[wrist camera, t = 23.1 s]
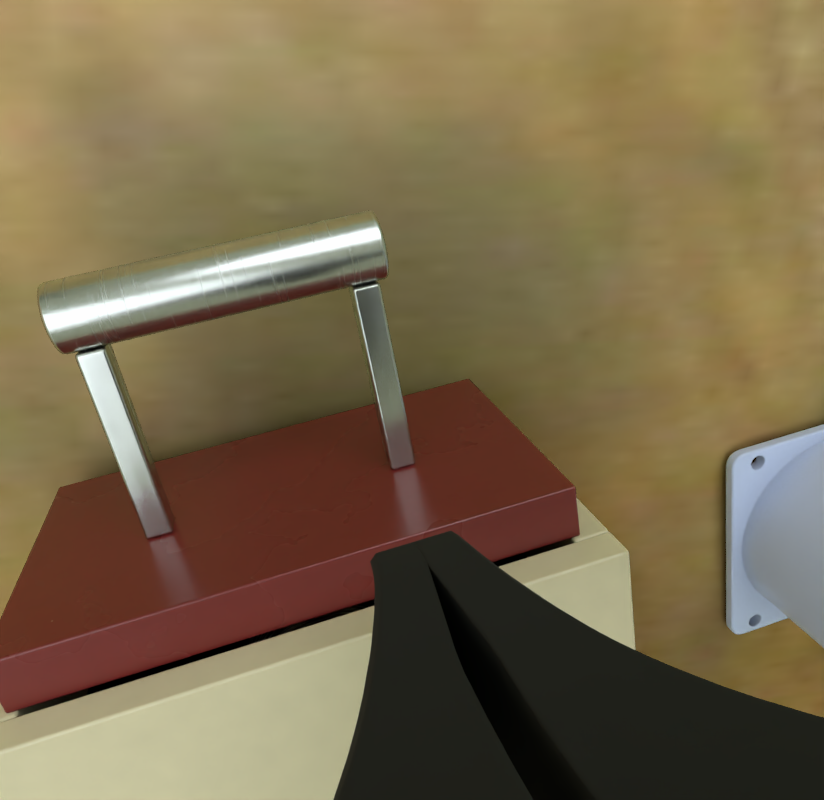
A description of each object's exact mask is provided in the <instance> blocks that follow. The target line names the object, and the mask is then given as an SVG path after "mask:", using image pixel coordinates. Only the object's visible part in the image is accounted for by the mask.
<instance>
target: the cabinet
mask: <svg viewBox="0 0 824 800" xmlns="http://www.w3.org/2000/svg"><path fill="white" fill-rule="evenodd" d="M576 499H577V498H576ZM577 509H578V519H579V529H580V535H579V536H576V537H573V538H569V539H566V540H563V541H560V542H557V543H553V544H550V545H547V546H544V547H541V548H537V549H534V550H531V551H528V552H524V554H525V555H526V556H527V558H524V559H521V560H518V561H515V562H511V563H508V564H505V565H502V566H499V568H501V569H502V570H503V571H505V572H506V573H507V574H509V575H510V576H512V577H513V578H514V579H516V580H517V581H519V582H520V583H522V584H523V585H524V586H526V587H527V588H529V589H530V590H532V591H533V592H535V593H536V594H538V595H539V596H541V597H542V598H544V599H545V600H547V601H548V602H550V603H551V604H553V605H554V606H556V607H558V608H559V609H561V610H562V611H564V612H566V613H567V614H569V615H571V616H572V617H574V618H576V619H578V620H579V621H581V622H583V623H584V624H586V625H588V626H589V627H591V628H593V629H595V630H597V631H598V632H600V633H602V634H604V635H606V636H608V637H610V638H611V639H613V640H615V641H617V642H619V643H621V644H624V645H626V646H628V647H630V648H632V649H634V650H635V635H634V620H633V606H632V591H631V576H630V561H629V552H628V550H627V549H626V548H625V547H624V546H623V545H622V544H621V543H620V542H619V541H618V540H617V539H616V538H615V537H614V536H613V535H612V534H611V533H610V532H608V530H607V529H606V528H605V527H604V526H603V525H602V524H601V523H600V521H599V520H598V519H597V518H596V517H595V516H594V515H593V514H592V513H591V512H590V511H589V510H588V509H587V508H586V507H585V506H584V505H583V504H582V503H581V502H580V501H579V500H578V499H577ZM373 621H374V606H371V607H368V608H364V609H361V610H358V611H355V612H352V613H348V614H345V615H342V616H339V617H336V618H332V619H329V620H326V621H323V622H320V623H316V624H313V625H310V626H307V627H304V628H300V629H297V630H294V631H291V632H288V633H284V634H281V635H278V636H275V637H272V638H268V639H265V640H262V641H259V642H256V643H252V644H249V645H246V646H243V647H240V648H236V649H233V650H230V651H227V652H224V653H220V654H217V655H214V656H211V657H208V658H204V659H201V660H198V661H195V662H192V663H188V664H185V665H182V666H179V667H176V668H172V669H169V670H166V671H163V672H160V673H156V674H153V675H150V676H147V677H144V678H140V679H137V680H134V681H131V682H128V683H124V684H121V685H118V686H115V687H112V688H108V689H105V690H102V691H99V692H96V693H92V694H89V695H87V691H88V689H84V690H81V691H78V692H75V693H71V694H68V695H65V696H62V697H59V698H55V699H52V700H49V701H46V702H43V703H39V704H36V705H33V706H30V707H26V708H23V709H20V710H17V711H14V712H10V713H6V712H5V711H4V709H3V707H2V705H1V703H0V800H333V799H334V796H335V793H336V790H337V787H338V784H339V781H340V778H341V775H342V772H343V769H344V766H345V763H346V759H347V756H348V753H349V749H350V745H351V742H352V738H353V735H354V731H355V727H356V723H357V719H358V715H359V710H360V706H361V702H362V697H363V692H364V686H365V680H366V675H367V669H368V663H369V658H370V651H371V643H372V632H373Z"/></svg>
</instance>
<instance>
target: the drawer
mask: <svg viewBox="0 0 824 800" xmlns="http://www.w3.org/2000/svg"><path fill="white" fill-rule="evenodd" d="M388 273H389V262H388V254H387V248H386V244H385V239H384V236H383V232H382V229H381V226H380V223H379V221H378V218H377V217H376V215H375V213H374V212H373V211H364V212H360V213H355V214H351V215H346V216H342V217H337V218H333V219H328V220H324V221H319V222H315V223H310V224H306V225H301V226H297V227H292V228H288V229H283V230H278V231H274V232H269V233H265V234H260V235H256V236H251V237H247V238H242V239H238V240H233V241H229V242H224V243H220V244H215V245H211V246H206V247H202V248H197V249H193V250H188V251H183V252H179V253H174V254H170V255H165V256H161V257H156V258H152V259H147V260H143V261H138V262H134V263H129V264H125V265H120V266H116V267H111V268H107V269H102V270H97V271H93V272H88V273H84V274H79V275H75V276H70V277H66V278H61V279H57V280H52V281H48V282H43V283H42V284H40V285H39V287H38V291H37V299H38V307H39V312H40V315H41V319H42V322H43V325H44V327H45V330H46V332H47V334H48V336H49V338H50V340H51V342H52V343H53V345H54V346H55V347H56V349H57V350H58V351H59V352H61V353H62V354H71V353H75V352H77V354H76V361H77V363H78V366H79V368H80V371H81V374H82V376H83V379H84V381H85V384H86V386H87V389H88V391H89V394H90V396H91V399H92V402H93V404H94V407H95V409H96V412H97V414H98V417H99V419H100V422H101V424H102V427H103V430H104V432H105V435H106V437H107V440H108V442H109V445H110V447H111V450H112V453H113V455H114V458H115V460H116V463H117V465H118V468H119V470H120V472H116V473H112V474H108V475H105V476H101V477H97V478H93V479H90V480H86V481H82V482H78V483H75V484H71V485H67V486H63V487H60V488H59V490H58V492H57V494H56V497H55V499H54V501H53V503H52V505H51V508H50V510H49V512H48V514H47V517H46V519H45V521H44V523H43V525H42V528H41V530H40V532H39V534H38V536H37V539H36V541H35V543H34V545H33V548H32V550H31V552H30V554H29V556H28V559H27V561H26V563H25V565H24V568H23V570H22V572H21V574H20V576H19V579H18V581H17V583H16V585H15V588H14V590H13V592H12V594H11V596H10V599H9V601H8V603H7V605H6V607H5V610H4V612H3V614H2V616H1V619H0V703H1V705H2V707H3V709H4V711H5V712H6V713H10V712H14V711H17V710H20V709H23V708H26V707H30V706H33V705H36V704H39V703H43V702H46V701H49V700H52V699H55V698H59V697H62V696H65V695H68V694H71V693H75V692H78V691H81V690H84V689H88V691H87V695H89V694H92V693H96V692H99V691H102V690H105V689H108V688H112V687H115V686H118V685H121V684H124V683H128V682H131V681H134V680H137V679H140V678H144V677H147V676H150V675H153V674H156V673H160V672H163V671H166V670H169V669H172V668H176V667H179V666H182V665H185V664H188V663H192V662H195V661H198V660H201V659H204V658H208V657H211V656H214V655H217V654H220V653H224V652H227V651H230V650H233V649H236V648H240V647H243V646H246V645H249V644H250V639H249V638H251V637H255V636H258V635H261V634H264V633H267V632H271V631H274V630H277V629H280V628H284V627H287V626H290V625H293V624H296V623H300V622H303V621H306V620H309V619H312V618H316V617H319V616H322V615H325V614H328V613H332V612H335V611H338V610H341V609H345V608H348V607H351V606H354V605H357V604H361V603H364V602H367V601H370V600H373V599H375V588H374V576H373V571H372V567H371V563H370V561H371V560H372V558H373V557H374V555H375V554H376V553H378V552H381V551H385V550H388V549H391V548H395V547H398V546H401V545H405V544H408V543H411V542H415V541H418V540H421V539H425V538H428V537H431V536H434V535H438V534H441V533H444V532H448V531H453V532H454V533H456V534H458V535H459V536H460V537H462V538H463V539H464V540H465V541H466V542H468V543H469V544H470V545H471V546H472V547H474V548H475V549H476V550H477V551H479V552H480V553H481V554H482V555H484V556H485V557H486V558H487V559H489V560H490V561H491V562H493V563H494V564H495V565H497V566H498V567H499V566H502V565H505V564H508V563H511V562H515V561H518V560H521V559H524V558H527V556H526V555H525V554H524V552H528V551H531V550H534V549H537V548H541V547H544V546H547V545H550V544H553V543H557V542H560V541H563V540H566V539H569V538H573V537H576V536H579V535H580V529H579V519H578V509H577V499H576V489H575V486H574V485H573V484H572V483H571V482H570V481H569V480H568V479H567V478H566V477H565V476H564V475H563V474H562V473H561V472H560V471H559V470H558V469H557V468H556V467H555V466H554V465H553V464H552V463H551V462H550V461H549V460H548V459H547V458H546V457H545V456H544V455H543V454H542V453H541V452H540V451H539V450H538V449H537V448H536V446H535V445H534V444H533V443H532V442H531V441H530V440H529V439H528V438H527V437H526V436H525V435H524V434H523V433H522V432H521V431H520V430H519V429H518V428H517V427H516V426H515V425H514V424H513V423H512V422H511V421H510V420H509V419H508V418H507V417H506V416H505V415H504V414H503V413H502V412H501V411H500V410H499V409H498V408H497V407H496V406H495V405H494V404H493V403H492V402H491V401H490V400H489V399H488V398H487V397H486V396H485V395H484V394H483V393H482V392H481V391H480V390H479V389H478V388H477V387H476V385H475V384H474V383H473V382H472V381H471V380H470V379H466V380H462V381H458V382H454V383H451V384H447V385H443V386H439V387H435V388H432V389H428V390H424V391H420V392H417V393H413V394H409V395H405V396H403V395H402V390H401V386H400V381H399V376H398V371H397V366H396V361H395V356H394V351H393V346H392V341H391V336H390V331H389V326H388V321H387V316H386V311H385V306H384V301H383V296H382V291H381V286H380V284H379V283H378V282H377V281H378V280H382V279H385V278H387V277H388ZM348 287H349V291H350V296H351V301H352V305H353V310H354V314H355V319H356V323H357V328H358V333H359V337H360V342H361V346H362V351H363V355H364V360H365V364H366V369H367V374H368V378H369V383H370V387H371V392H372V396H373V401H374V404H372V405H368V406H364V407H360V408H357V409H353V410H349V411H345V412H342V413H338V414H334V415H330V416H326V417H323V418H319V419H315V420H311V421H308V422H304V423H300V424H296V425H293V426H289V427H285V428H281V429H278V430H274V431H270V432H266V433H263V434H259V435H255V436H251V437H248V438H244V439H240V440H236V441H232V442H229V443H225V444H221V445H217V446H214V447H210V448H206V449H202V450H199V451H195V452H191V453H187V454H184V455H180V456H176V457H172V458H169V459H165V460H161V461H157V462H154V460H153V458H152V455H151V452H150V450H149V447H148V444H147V441H146V439H145V436H144V433H143V431H142V428H141V425H140V422H139V420H138V417H137V414H136V412H135V409H134V406H133V403H132V401H131V398H130V395H129V393H128V390H127V387H126V384H125V382H124V379H123V376H122V374H121V371H120V368H119V365H118V363H117V360H116V357H115V355H114V352H113V349H112V346H111V344H113V343H117V342H121V341H125V340H130V339H134V338H138V337H142V336H147V335H151V334H155V333H159V332H163V331H168V330H172V329H176V328H180V327H184V326H189V325H193V324H197V323H201V322H205V321H210V320H214V319H218V318H222V317H226V316H231V315H235V314H239V313H243V312H247V311H252V310H256V309H260V308H264V307H269V306H273V305H277V304H281V303H285V302H290V301H294V300H298V299H302V298H306V297H311V296H315V295H319V294H323V293H327V292H332V291H336V290H340V289H344V288H348Z"/></svg>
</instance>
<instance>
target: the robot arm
mask: <svg viewBox="0 0 824 800" xmlns="http://www.w3.org/2000/svg"><path fill="white" fill-rule="evenodd" d="M755 457H756V460H755V461H754V463H752V461H753V459H754V458H755ZM751 463H752V464H751ZM370 563H371V567H372V571H373V576H374V588H375V602H374V621H373V632H372V643H371V651H370V658H369V663H368V669H367V675H366V680H365V686H364V692H363V697H362V702H361V706H360V710H359V715H358V719H357V723H356V727H355V731H354V735H353V738H352V742H351V745H350V749H349V753H348V756H347V759H346V763H345V766H344V769H343V772H342V775H341V778H340V781H339V784H338V787H337V790H336V793H335V796H334V799H333V800H824V718H823V717H819V716H815V715H812V714H808V713H805V712H802V711H798V710H795V709H792V708H788V707H785V706H782V705H778V704H775V703H772V702H769V701H765V700H762V699H759V698H756V697H753V696H750V695H747V694H744V693H741V692H738V691H735V690H732V689H729V688H726V687H723V686H721V685H718V684H715V683H713V682H710V681H708V680H705V679H702V678H700V677H697V676H695V675H692V674H690V673H687V672H684V671H682V670H679V669H677V668H674V667H672V666H669V665H667V664H665V663H662V662H660V661H658V660H655V659H653V658H651V657H649V656H646V655H644V654H642V653H640V652H638V651H636V650H634V649H632V648H630V647H628V646H626V645H624V644H621V643H619V642H617V641H615V640H613V639H611V638H610V637H608V636H606V635H604V634H602V633H600V632H598V631H597V630H595V629H593V628H591V627H589V626H588V625H586V624H584V623H583V622H581V621H579V620H578V619H576V618H574V617H572V616H571V615H569V614H567V613H566V612H564V611H562V610H561V609H559V608H558V607H556V606H554V605H553V604H551V603H550V602H548V601H547V600H545V599H544V598H542V597H541V596H539V595H538V594H536V593H535V592H533V591H532V590H530V589H529V588H527V587H526V586H524V585H523V584H522V583H520V582H519V581H517V580H516V579H514V578H513V577H512V576H510V575H509V574H507V573H506V572H505V571H503V570H502V569H501V568H499V567H498V566H497V565H495V564H494V563H493V562H491V561H490V560H489V559H487V558H486V557H485V556H484V555H482V554H481V553H480V552H479V551H477V550H476V549H475V548H474V547H472V546H471V545H470V544H469V543H468V542H466V541H465V540H464V539H463V538H462V537H460V536H459V535H458V534H456V533H454V532H453V531H448V532H444V533H441V534H438V535H434V536H431V537H428V538H425V539H421V540H418V541H415V542H411V543H408V544H405V545H401V546H398V547H395V548H391V549H388V550H385V551H381V552H378V553H376V554H375V555H374V557H373V558H372V560H371V561H370ZM787 618H789V619H791V620H792V621H793V622H794V623H795V624H796V625H798V626H799V627H800V628H801V629H802V630H803V631H805V632H806V633H807V634H808V635H809V636H810V637H811V638H813V639H814V640H815V641H816V642H817V643H818V644H820V645H821V646H822V647H823V648H824V424H822V425H819V426H816V427H812V428H809V429H806V430H803V431H799V432H796V433H793V434H789V435H786V436H783V437H779V438H776V439H773V440H769V441H766V442H763V443H760V444H756V445H753V446H750V447H746V448H743V449H740V450H737V451H735V452H733V453H732V454H731V455H730V456H729V458H728V460H727V463H726V624H727V627H728V628H729V629H730V630H731V631H732V632H733V633H735V634H744V633H746V632H749V631H752V630H755V629H758V628H761V627H764V626H766V625H769V624H772V623H775V622H778V621H781V620H784V619H787Z"/></svg>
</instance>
